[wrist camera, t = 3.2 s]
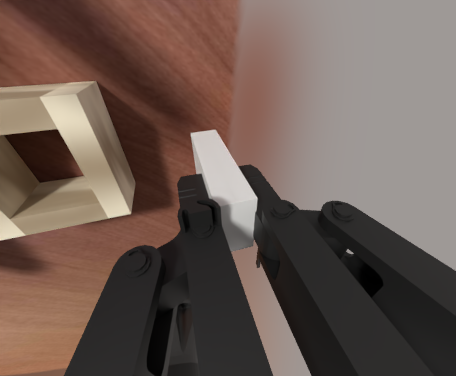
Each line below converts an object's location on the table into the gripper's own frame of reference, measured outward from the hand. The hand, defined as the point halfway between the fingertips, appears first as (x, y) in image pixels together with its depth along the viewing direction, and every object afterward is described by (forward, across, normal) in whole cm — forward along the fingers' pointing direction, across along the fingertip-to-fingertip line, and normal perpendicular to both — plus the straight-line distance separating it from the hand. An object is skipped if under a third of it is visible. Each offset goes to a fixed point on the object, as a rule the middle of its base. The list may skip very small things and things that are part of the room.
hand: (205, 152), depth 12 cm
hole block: (+5, +10, 0) cm, 11 cm away
